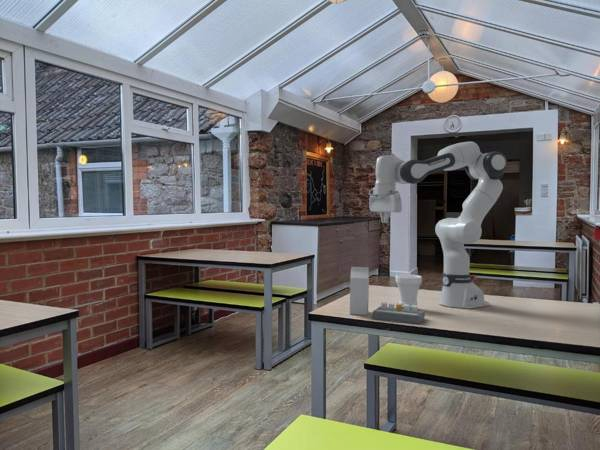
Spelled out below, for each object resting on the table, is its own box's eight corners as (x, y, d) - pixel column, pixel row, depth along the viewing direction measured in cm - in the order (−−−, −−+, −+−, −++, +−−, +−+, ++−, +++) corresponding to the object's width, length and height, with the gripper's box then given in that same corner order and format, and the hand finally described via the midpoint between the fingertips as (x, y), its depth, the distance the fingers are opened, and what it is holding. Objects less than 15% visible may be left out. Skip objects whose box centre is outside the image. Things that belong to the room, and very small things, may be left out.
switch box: (372, 318, 191) (373, 303, 191) (380, 313, 200) (380, 299, 200) (419, 324, 184) (419, 308, 183) (424, 318, 193) (424, 303, 192)
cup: (422, 312, 204) (423, 278, 203) (395, 310, 206) (395, 277, 205) (420, 306, 215) (421, 274, 214) (394, 305, 217) (395, 273, 216)
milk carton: (367, 315, 197) (368, 268, 196) (349, 314, 198) (350, 267, 198) (368, 311, 204) (369, 266, 203) (351, 310, 205) (352, 265, 205)
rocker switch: (396, 310, 192) (396, 304, 191) (397, 309, 193) (396, 303, 192) (401, 310, 191) (401, 305, 190) (402, 309, 192) (401, 304, 191)
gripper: (405, 190, 206) (405, 223, 206) (378, 191, 224) (378, 221, 225) (393, 190, 203) (392, 223, 204) (366, 191, 222) (366, 221, 222)
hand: (384, 222), depth 214 cm, fingers closed
